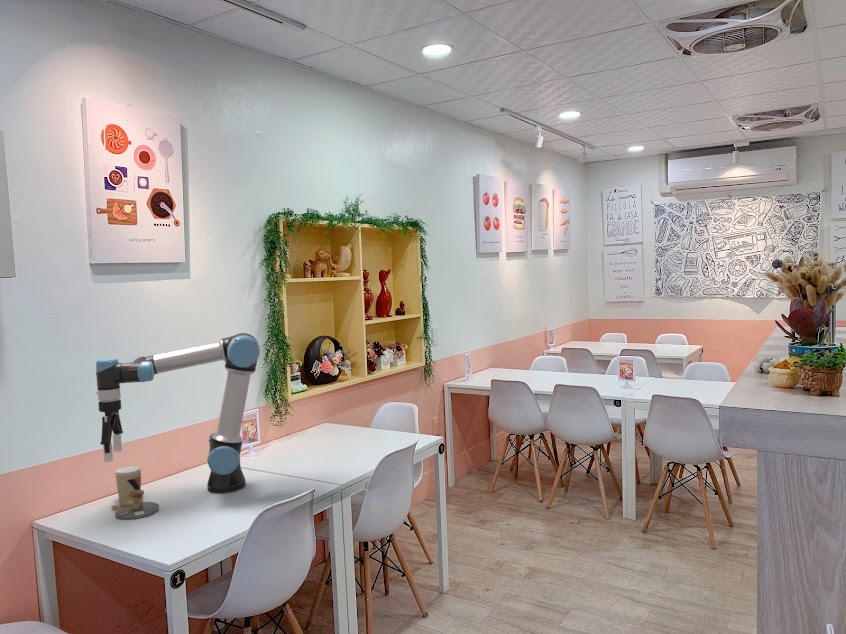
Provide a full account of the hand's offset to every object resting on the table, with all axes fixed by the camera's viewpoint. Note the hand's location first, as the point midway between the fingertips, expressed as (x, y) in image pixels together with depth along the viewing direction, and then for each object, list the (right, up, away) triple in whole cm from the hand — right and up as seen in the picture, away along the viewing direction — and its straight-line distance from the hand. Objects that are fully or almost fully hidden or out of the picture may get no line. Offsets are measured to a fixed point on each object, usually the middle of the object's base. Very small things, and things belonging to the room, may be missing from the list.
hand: (113, 456), depth 242 cm
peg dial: (+7, -20, -3) cm, 21 cm away
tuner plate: (+9, -21, 0) cm, 23 cm away
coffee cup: (0, -20, +14) cm, 25 cm away
